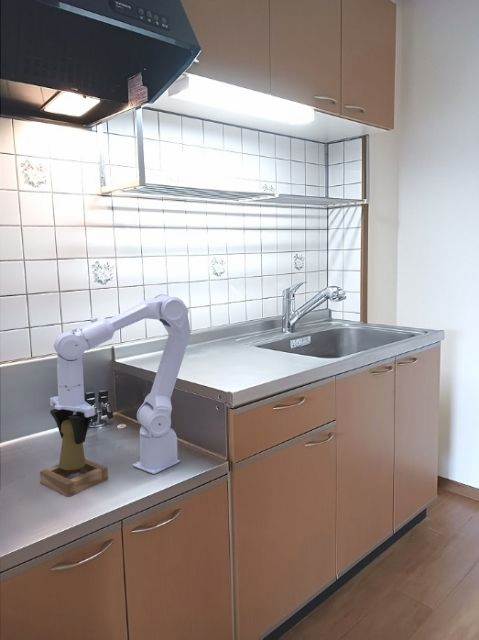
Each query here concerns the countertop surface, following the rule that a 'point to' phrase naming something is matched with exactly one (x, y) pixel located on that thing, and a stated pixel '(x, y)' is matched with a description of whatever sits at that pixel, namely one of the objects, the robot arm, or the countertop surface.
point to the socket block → (89, 478)
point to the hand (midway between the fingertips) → (72, 439)
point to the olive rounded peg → (70, 449)
